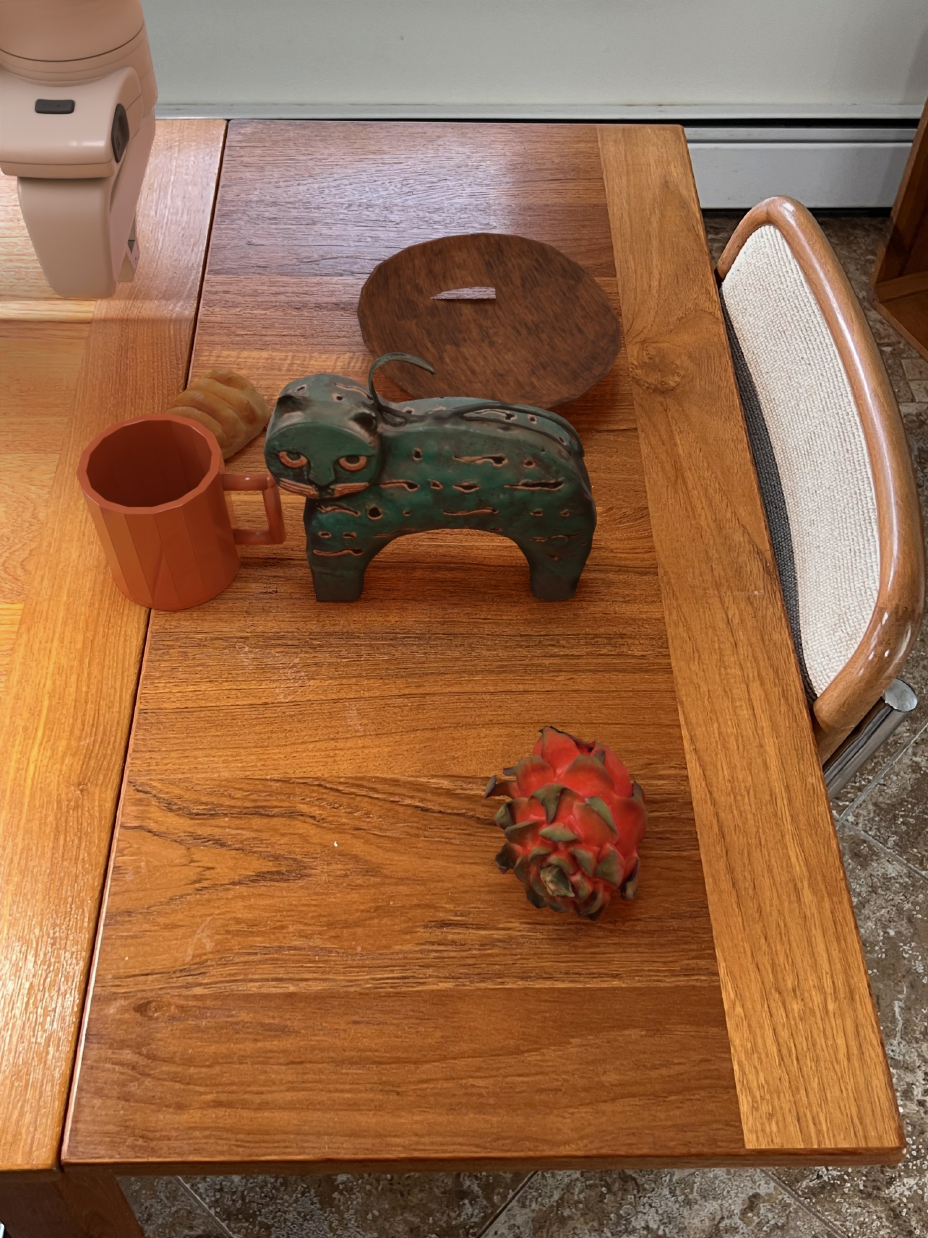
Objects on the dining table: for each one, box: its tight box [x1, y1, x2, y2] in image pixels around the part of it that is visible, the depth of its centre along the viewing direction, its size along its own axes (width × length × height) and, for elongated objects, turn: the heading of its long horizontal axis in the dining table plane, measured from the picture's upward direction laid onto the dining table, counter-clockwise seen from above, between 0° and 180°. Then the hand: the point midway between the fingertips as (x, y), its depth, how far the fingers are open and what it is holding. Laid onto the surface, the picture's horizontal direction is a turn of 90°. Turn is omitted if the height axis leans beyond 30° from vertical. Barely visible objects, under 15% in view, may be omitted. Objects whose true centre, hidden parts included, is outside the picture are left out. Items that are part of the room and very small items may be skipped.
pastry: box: [164, 368, 272, 462], centre depth 85 cm, size 9×7×4 cm
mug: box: [76, 413, 288, 611], centre depth 76 cm, size 12×9×10 cm
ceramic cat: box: [263, 352, 598, 603], centre depth 71 cm, size 20×6×20 cm, turn 90°
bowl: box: [356, 232, 622, 413], centre depth 90 cm, size 20×22×5 cm
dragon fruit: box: [483, 725, 649, 922], centre depth 64 cm, size 8×8×12 cm
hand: (125, 269), depth 80 cm, fingers closed
